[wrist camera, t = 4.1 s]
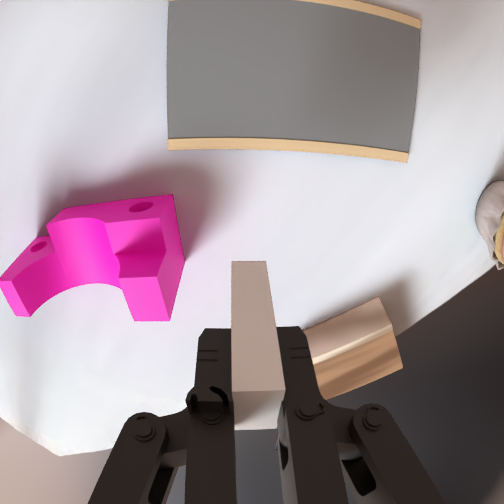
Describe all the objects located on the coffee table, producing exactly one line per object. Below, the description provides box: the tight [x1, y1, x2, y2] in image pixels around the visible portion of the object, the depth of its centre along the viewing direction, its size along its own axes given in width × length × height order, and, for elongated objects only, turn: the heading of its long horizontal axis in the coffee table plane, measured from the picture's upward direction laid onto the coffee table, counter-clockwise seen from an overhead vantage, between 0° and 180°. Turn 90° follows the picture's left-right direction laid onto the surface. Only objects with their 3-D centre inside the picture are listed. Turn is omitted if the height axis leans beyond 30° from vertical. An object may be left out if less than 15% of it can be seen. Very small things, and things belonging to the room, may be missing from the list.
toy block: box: [0, 194, 185, 321], centre depth 21 cm, size 15×6×8 cm, turn 93°
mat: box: [167, 0, 421, 163], centre depth 18 cm, size 18×12×1 cm, turn 88°
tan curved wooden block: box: [303, 297, 403, 400], centre depth 31 cm, size 4×10×9 cm
